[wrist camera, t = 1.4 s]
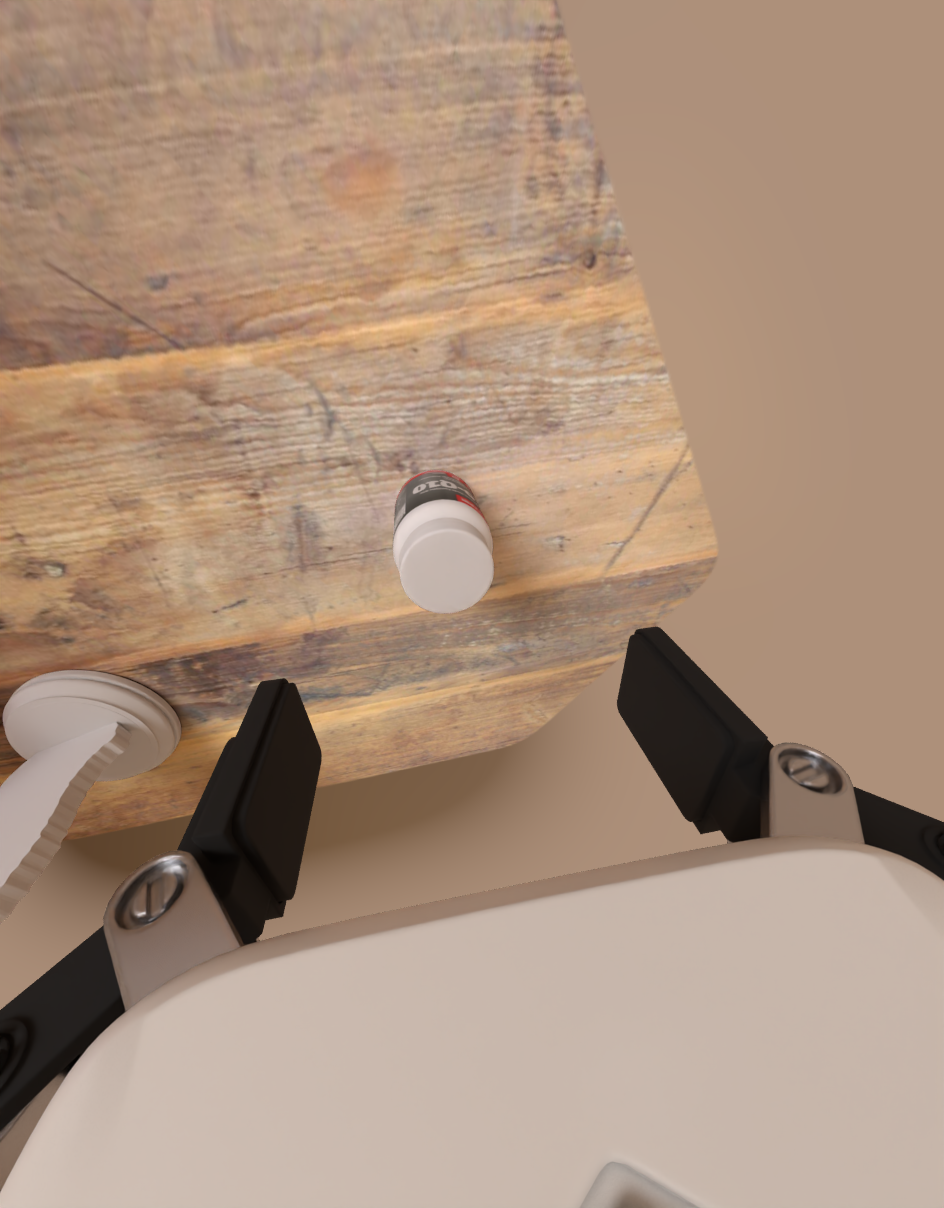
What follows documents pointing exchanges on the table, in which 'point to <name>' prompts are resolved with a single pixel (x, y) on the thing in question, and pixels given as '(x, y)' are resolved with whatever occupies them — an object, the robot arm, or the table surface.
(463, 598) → the pill bottle
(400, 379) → the table surface
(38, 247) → the table surface
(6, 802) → the chess piece
